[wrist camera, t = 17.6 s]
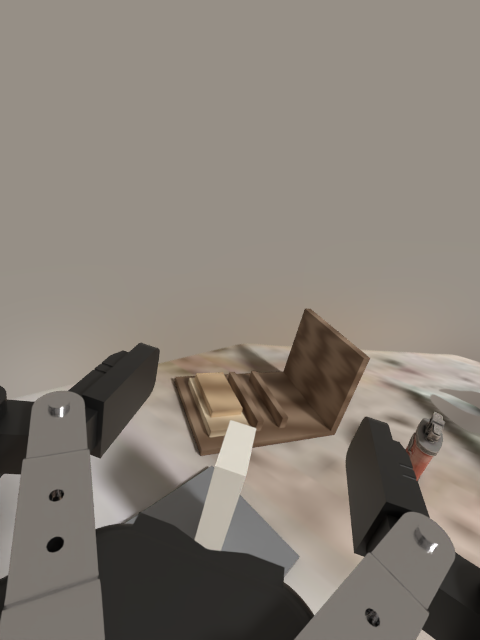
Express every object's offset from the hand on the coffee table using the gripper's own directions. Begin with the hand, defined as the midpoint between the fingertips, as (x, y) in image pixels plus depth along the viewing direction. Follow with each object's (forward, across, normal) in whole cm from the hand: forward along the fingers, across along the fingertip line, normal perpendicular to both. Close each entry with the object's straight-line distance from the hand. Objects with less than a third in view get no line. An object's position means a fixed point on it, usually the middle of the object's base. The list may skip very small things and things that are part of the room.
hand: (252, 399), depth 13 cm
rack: (+35, 0, +28) cm, 45 cm away
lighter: (+33, -26, +28) cm, 50 cm away
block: (+11, 0, +27) cm, 30 cm away
